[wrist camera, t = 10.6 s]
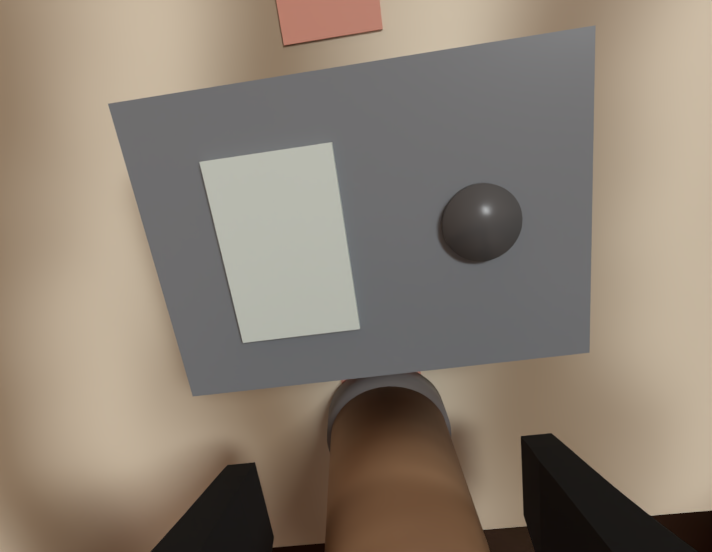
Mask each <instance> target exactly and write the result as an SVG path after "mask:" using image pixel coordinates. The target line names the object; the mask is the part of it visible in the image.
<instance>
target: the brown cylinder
mask: <svg viewBox="0 0 712 552" xmlns="http://www.w3.org/2000/svg"><path fill="white" fill-rule="evenodd" d="M327 444H328V449H329V452H330V464H329V482H328V500H327V518H326V536H325V552H490V549H489V546H488V543H487V540H486V537H485V535H484V532H483V529H482V526H481V523H480V520H479V517H478V514H477V511H476V509H475V506H474V503H473V500H472V497H471V494H470V491H469V488H468V485H467V483H466V480H465V477H464V474H463V471H462V468H461V465H460V462H459V459H458V457H457V454H456V451H455V448H454V445H453V442H452V439H451V425H450V421H449V418H448V415H447V412H446V410H445V407H444V404H443V401H442V399H441V396H440V394H439V392H438V390H437V389H436V388H435V386H434V385H433V384H432V383H431V382H430V381H429V380H428V379H427V378H425V377H424V376H423V375H421V374H419V373H418V372H411V373H402V374H392V375H383V376H374V377H365V378H356V379H348V380H346V381H345V382H344V383H343V384H342V385H341V386H340V387H339V388H338V390H337V391H336V393H335V394H334V396H333V398H332V401H331V404H330V407H329V413H328V426H327Z"/></svg>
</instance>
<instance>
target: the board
mask: <svg viewBox="0 0 712 552" xmlns="http://www.w3.org/2000/svg"><path fill="white" fill-rule="evenodd" d="M380 8H381V18H382V27H383V30H377V31H371V32H365V33H359V34H353V35H347V36H341V37H335V38H329V39H323V40H317V41H311V42H305V43H299V44H293V45H287V46H284V43H283V37H282V32H281V26H280V20H279V14H278V8H277V3H276V0H0V552H151V550H152V549H153V548H154V547H155V546H156V545H157V544H158V543H159V542H160V541H161V539H162V538H163V537H164V536H165V535H166V534H167V533H168V532H169V530H170V529H171V528H172V527H173V526H174V525H175V524H176V523H177V522H178V520H179V519H180V518H181V517H182V516H183V515H184V514H185V513H186V511H187V510H188V509H189V508H190V507H191V506H192V505H193V503H194V502H195V501H196V500H197V499H198V498H199V497H200V495H201V494H202V493H203V492H204V491H205V490H206V488H207V487H208V486H209V485H210V484H211V483H212V482H213V480H214V479H215V478H216V477H217V476H218V475H219V474H220V472H221V471H222V470H223V469H224V468H225V467H226V466H227V465H232V464H242V463H253V462H255V464H256V468H257V472H258V476H259V480H260V484H261V488H262V491H263V495H264V499H265V503H266V507H267V511H268V515H269V519H270V523H271V527H272V531H273V535H274V541H273V547H284V546H296V545H308V544H320V543H325V536H326V518H327V500H328V482H329V464H330V452H329V449H328V444H327V426H328V413H329V407H330V404H331V401H332V398H333V396H334V394H335V393H336V391H337V390H338V388H339V387H340V386H341V385H342V380H338V381H329V382H320V383H311V384H302V385H293V386H284V387H275V388H266V389H257V390H247V391H238V392H229V393H220V394H211V395H202V396H193V395H192V392H191V389H190V385H189V382H188V378H187V375H186V371H185V368H184V364H183V361H182V358H181V354H180V351H179V347H178V344H177V340H176V337H175V333H174V330H173V327H172V323H171V320H170V316H169V313H168V309H167V306H166V302H165V299H164V295H163V292H162V289H161V285H160V282H159V278H158V275H157V271H156V268H155V264H154V261H153V258H152V254H151V251H150V247H149V244H148V240H147V237H146V233H145V230H144V227H143V223H142V220H141V216H140V213H139V209H138V206H137V202H136V199H135V195H134V192H133V189H132V185H131V182H130V178H129V175H128V171H127V168H126V164H125V161H124V158H123V154H122V151H121V147H120V144H119V140H118V137H117V133H116V130H115V127H114V123H113V120H112V116H111V113H110V109H109V106H108V104H110V103H116V102H122V101H128V100H134V99H141V98H147V97H153V96H159V95H165V94H172V93H178V92H184V91H190V90H197V89H203V88H209V87H215V86H221V85H228V84H234V83H240V82H246V81H252V80H259V79H265V78H271V77H277V76H284V75H290V74H296V73H302V72H308V71H315V70H321V69H327V68H333V67H339V66H346V65H352V64H358V63H364V62H371V61H377V60H383V59H389V58H395V57H402V56H408V55H414V54H420V53H426V52H433V51H439V50H445V49H451V48H458V47H464V46H470V45H476V44H482V43H489V42H495V41H501V40H507V39H513V38H520V37H526V36H532V35H538V34H544V33H551V32H557V31H563V30H569V29H576V28H582V27H588V26H594V25H596V31H595V85H594V140H593V195H592V249H591V304H590V353H583V354H574V355H565V356H556V357H546V358H537V359H528V360H519V361H510V362H501V363H492V364H483V365H474V366H465V367H456V368H447V369H438V370H429V371H421V375H423V376H424V377H425V378H427V379H428V380H429V381H430V382H431V383H432V384H433V385H434V386H435V388H436V389H437V390H438V392H439V394H440V396H441V399H442V401H443V404H444V407H445V410H446V412H447V415H448V418H449V421H450V425H451V439H452V442H453V445H454V448H455V451H456V454H457V457H458V459H459V462H460V465H461V468H462V471H463V474H464V477H465V480H466V483H467V485H468V488H469V491H470V494H471V497H472V500H473V503H474V506H475V509H476V511H477V514H478V517H479V520H480V523H481V526H482V529H483V530H486V529H498V528H510V527H521V526H527V525H526V522H525V519H524V515H523V487H522V459H521V436H527V435H537V434H547V433H552V434H553V435H554V436H556V437H557V438H558V439H559V440H560V441H562V442H563V443H564V444H565V445H566V446H567V447H568V448H570V449H571V450H572V451H573V452H574V453H575V454H577V455H578V456H579V457H580V458H581V459H582V460H584V461H585V462H586V463H587V464H588V465H589V466H591V467H592V468H593V469H594V470H595V471H596V472H598V473H599V474H600V475H601V476H602V477H603V478H605V479H606V480H607V481H608V482H609V483H611V484H612V485H613V486H614V487H615V488H617V489H618V490H619V491H620V492H621V493H623V494H624V495H625V496H626V497H628V498H629V499H630V500H631V501H633V502H634V503H635V504H636V505H638V506H639V507H640V508H641V509H643V510H644V511H645V512H646V513H648V514H649V515H650V516H652V515H664V514H676V513H688V512H699V511H711V510H712V0H380Z"/></svg>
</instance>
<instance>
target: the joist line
mask: <svg viewBox="0 0 712 552" xmlns="http://www.w3.org/2000/svg"><path fill="white" fill-rule="evenodd" d="M276 3H277V8H278V14H279V20H280V26H281V32H282V37H283V43H284V46H287V45H293V44H299V43H305V42H311V41H317V40H323V39H329V38H335V37H341V36H347V35H353V34H359V33H365V32H371V31H377V30H383V27H382V18H381V8H380V0H276ZM418 373H419V374H421V371H420V372H418ZM347 380H348V379H347ZM345 381H346V380H342V384H343V383H344V382H345Z"/></svg>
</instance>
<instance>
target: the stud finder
mask: <svg viewBox="0 0 712 552" xmlns="http://www.w3.org/2000/svg"><path fill="white" fill-rule="evenodd" d="M595 31H596V25H594V26H588V27H582V28H576V29H569V30H563V31H557V32H551V33H544V34H538V35H532V36H526V37H520V38H513V39H507V40H501V41H495V42H489V43H482V44H476V45H470V46H464V47H458V48H451V49H445V50H439V51H433V52H426V53H420V54H414V55H408V56H402V57H395V58H389V59H383V60H377V61H371V62H364V63H358V64H352V65H346V66H339V67H333V68H327V69H321V70H315V71H308V72H302V73H296V74H290V75H284V76H277V77H271V78H265V79H259V80H252V81H246V82H240V83H234V84H228V85H221V86H215V87H209V88H203V89H197V90H190V91H184V92H178V93H172V94H165V95H159V96H153V97H147V98H141V99H134V100H128V101H122V102H116V103H110V104H108V106H109V109H110V113H111V116H112V120H113V123H114V127H115V130H116V133H117V137H118V140H119V144H120V147H121V151H122V154H123V158H124V161H125V164H126V168H127V171H128V175H129V178H130V182H131V185H132V189H133V192H134V195H135V199H136V202H137V206H138V209H139V213H140V216H141V220H142V223H143V227H144V230H145V233H146V237H147V240H148V244H149V247H150V251H151V254H152V258H153V261H154V264H155V268H156V271H157V275H158V278H159V282H160V285H161V289H162V292H163V295H164V299H165V302H166V306H167V309H168V313H169V316H170V320H171V323H172V327H173V330H174V333H175V337H176V340H177V344H178V347H179V351H180V354H181V358H182V361H183V364H184V368H185V371H186V375H187V378H188V382H189V385H190V389H191V392H192V395H193V396H202V395H211V394H220V393H229V392H238V391H247V390H257V389H266V388H275V387H284V386H293V385H302V384H311V383H320V382H329V381H338V380H347V379H356V378H365V377H374V376H383V375H392V374H402V373H411V372H420V371H429V370H438V369H447V368H456V367H465V366H474V365H483V364H492V363H501V362H510V361H519V360H528V359H537V358H546V357H556V356H565V355H574V354H583V353H590V304H591V249H592V195H593V140H594V85H595Z"/></svg>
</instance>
